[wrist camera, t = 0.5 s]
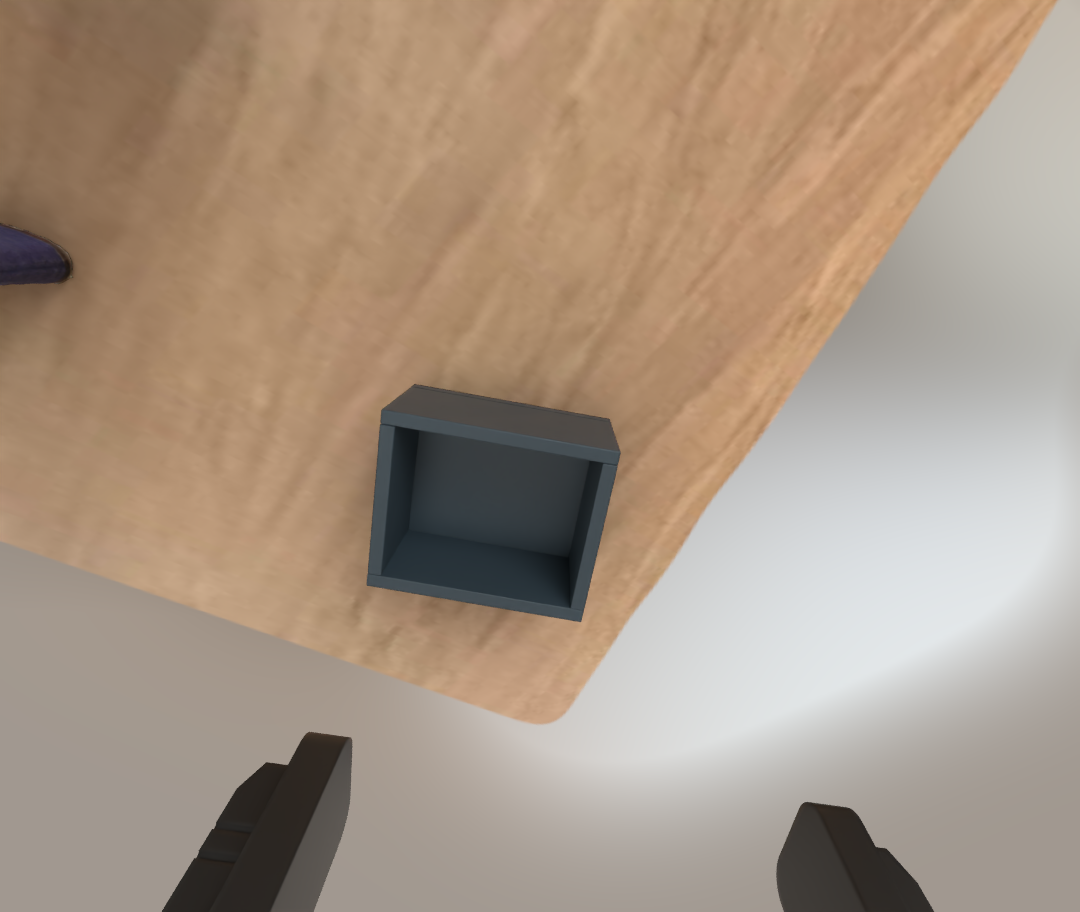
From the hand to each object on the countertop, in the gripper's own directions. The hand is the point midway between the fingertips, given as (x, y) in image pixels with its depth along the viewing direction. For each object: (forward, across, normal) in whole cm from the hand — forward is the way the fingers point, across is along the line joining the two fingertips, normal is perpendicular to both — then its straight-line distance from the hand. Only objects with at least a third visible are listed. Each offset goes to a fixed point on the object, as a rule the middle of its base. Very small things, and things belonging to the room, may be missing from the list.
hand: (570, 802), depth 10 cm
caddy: (+27, +3, +5) cm, 27 cm away
